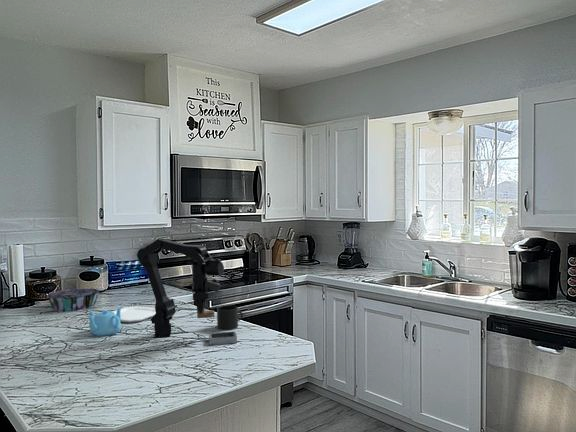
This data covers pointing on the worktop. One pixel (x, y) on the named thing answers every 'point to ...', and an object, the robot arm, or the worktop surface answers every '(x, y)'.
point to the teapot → (105, 322)
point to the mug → (228, 317)
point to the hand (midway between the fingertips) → (200, 312)
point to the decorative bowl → (73, 299)
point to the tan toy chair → (205, 313)
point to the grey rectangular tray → (222, 338)
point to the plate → (135, 314)
